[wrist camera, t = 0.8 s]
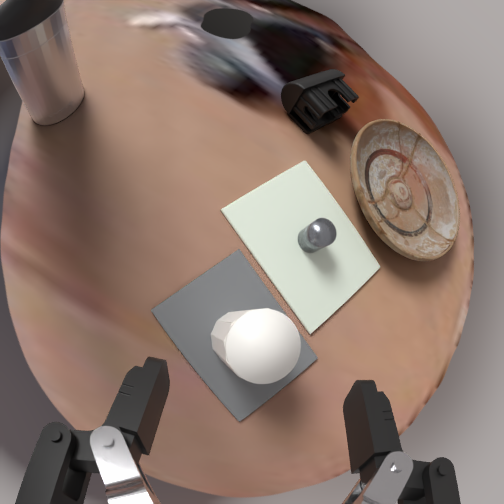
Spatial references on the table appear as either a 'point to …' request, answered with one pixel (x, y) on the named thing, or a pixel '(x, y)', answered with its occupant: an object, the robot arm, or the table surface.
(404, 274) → the table surface
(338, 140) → the table surface
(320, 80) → the end cap
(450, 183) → the ceramic bowl
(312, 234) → the peg
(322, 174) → the table surface
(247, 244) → the board
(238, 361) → the white lidded canister
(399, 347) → the table surface
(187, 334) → the mat
